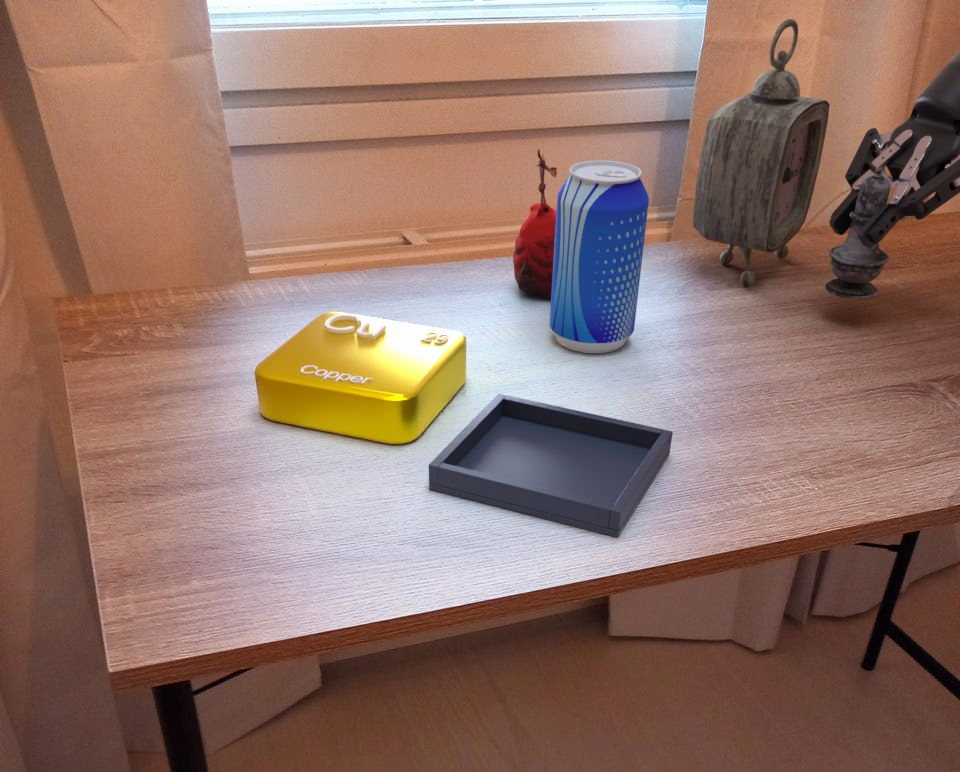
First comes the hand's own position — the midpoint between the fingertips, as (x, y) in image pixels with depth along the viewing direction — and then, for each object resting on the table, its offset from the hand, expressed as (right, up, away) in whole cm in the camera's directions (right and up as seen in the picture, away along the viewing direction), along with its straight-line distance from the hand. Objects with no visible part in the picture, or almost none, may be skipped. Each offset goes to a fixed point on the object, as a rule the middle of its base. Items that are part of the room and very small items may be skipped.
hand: (849, 234), depth 101 cm
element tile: (-47, -19, -9) cm, 51 cm away
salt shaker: (+2, -4, +5) cm, 6 cm away
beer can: (-26, -10, +1) cm, 28 cm away
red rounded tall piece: (-30, -2, +11) cm, 32 cm away
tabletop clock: (-6, +3, +18) cm, 19 cm away
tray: (-31, -27, -19) cm, 45 cm away
